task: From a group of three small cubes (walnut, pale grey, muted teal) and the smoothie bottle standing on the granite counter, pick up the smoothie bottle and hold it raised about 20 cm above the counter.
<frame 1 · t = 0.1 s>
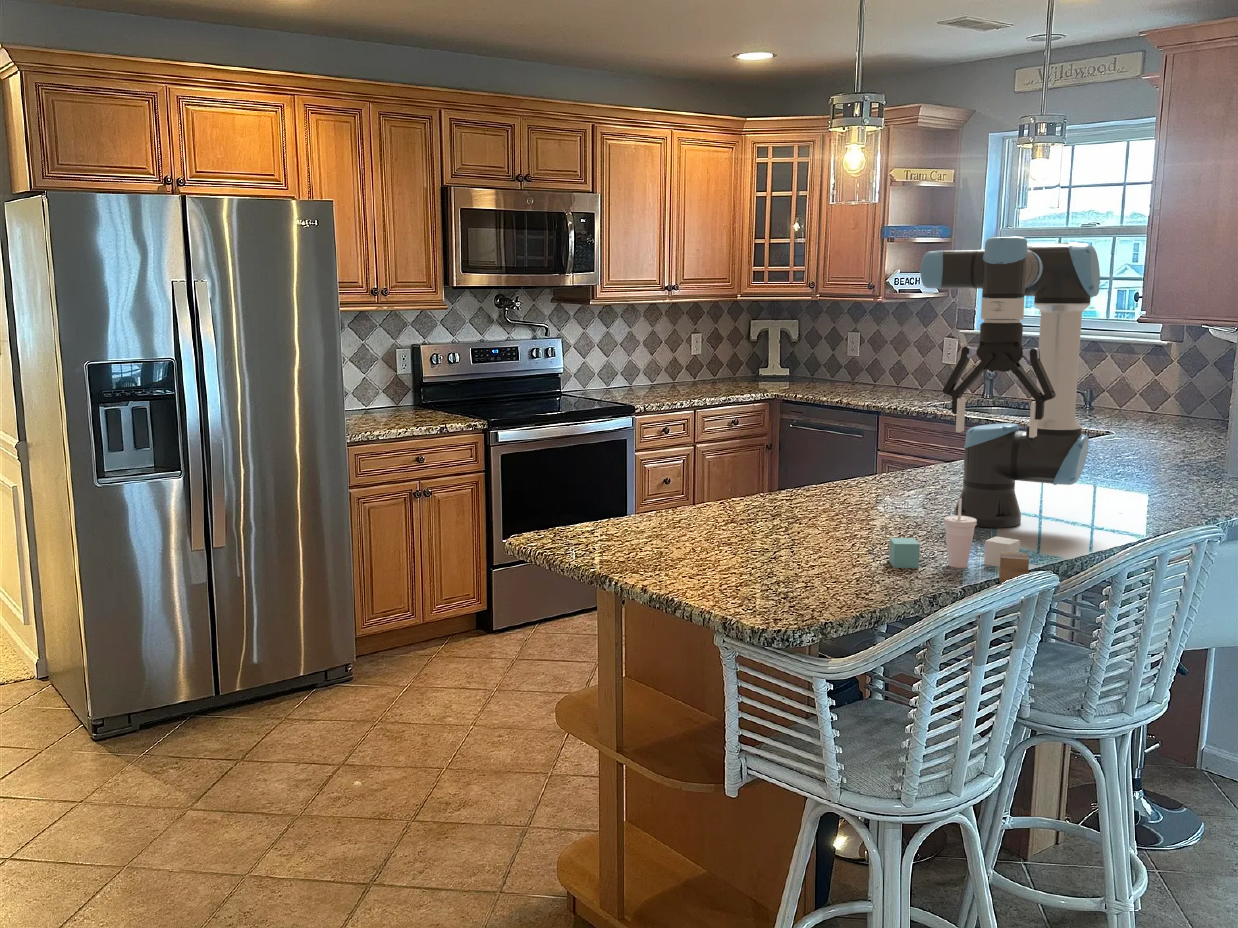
hand: (995, 434, 204), 28 cm above the counter, fingers open, 13 cm apart
smoothie: (957, 566, 217), on the counter
cube teal: (903, 564, 218), on the counter
cube walnut: (1013, 580, 206), on the counter
cube grey: (1001, 564, 218), on the counter
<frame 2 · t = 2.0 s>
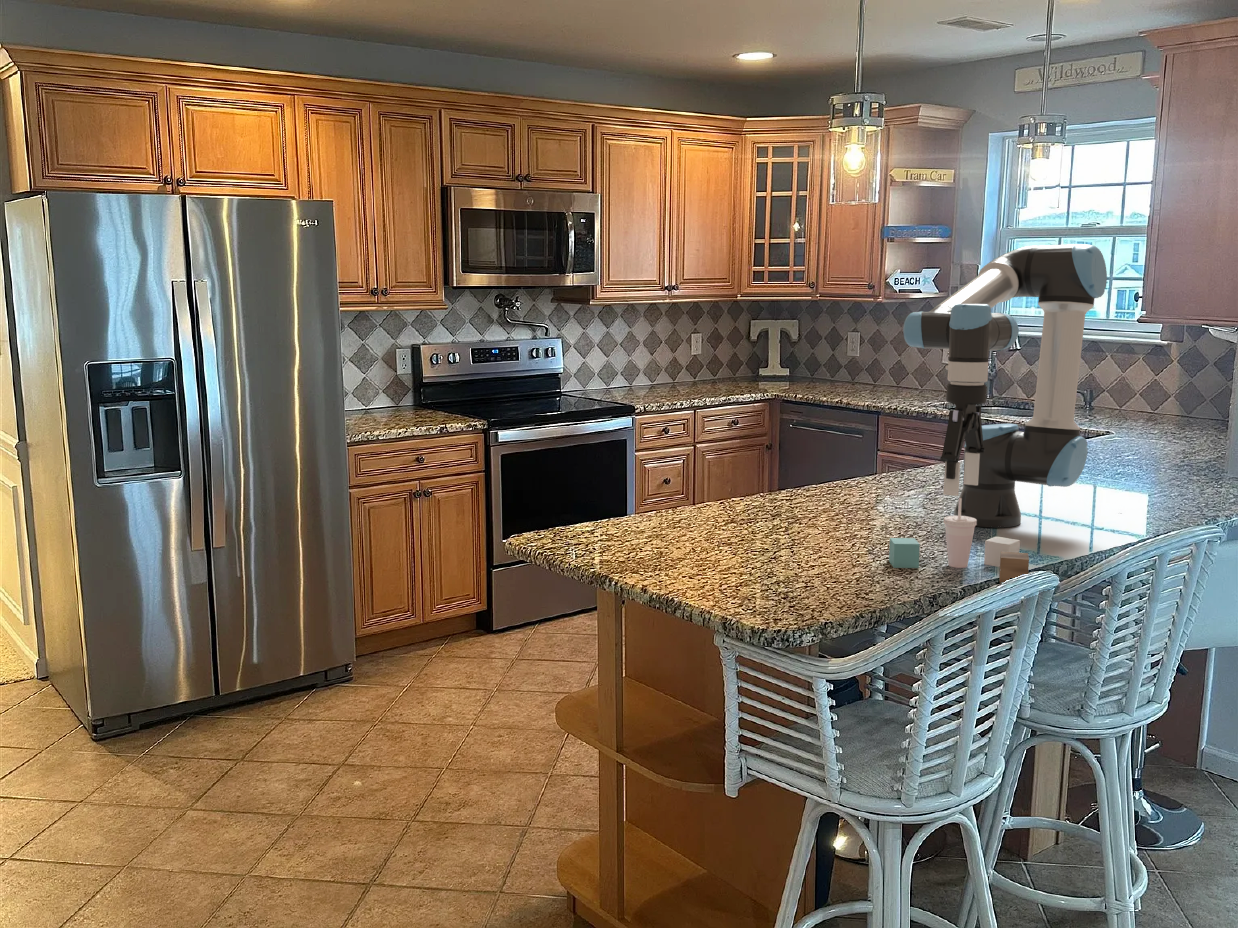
hand: (961, 489, 214), 16 cm above the counter, fingers open, 13 cm apart
nothing on the counter moved.
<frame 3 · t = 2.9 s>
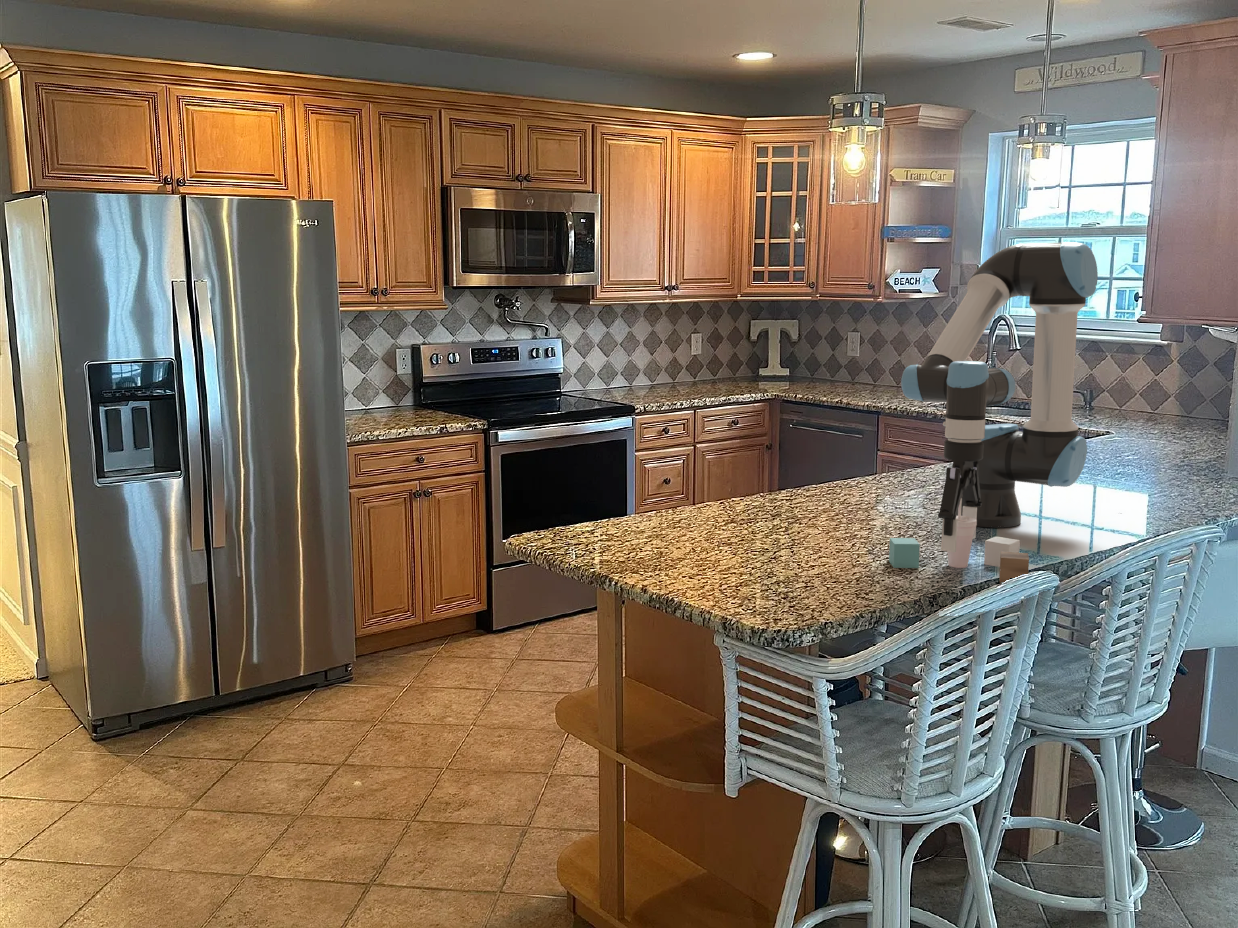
hand: (958, 544, 216), 4 cm above the counter, fingers open, 13 cm apart
nothing on the counter moved.
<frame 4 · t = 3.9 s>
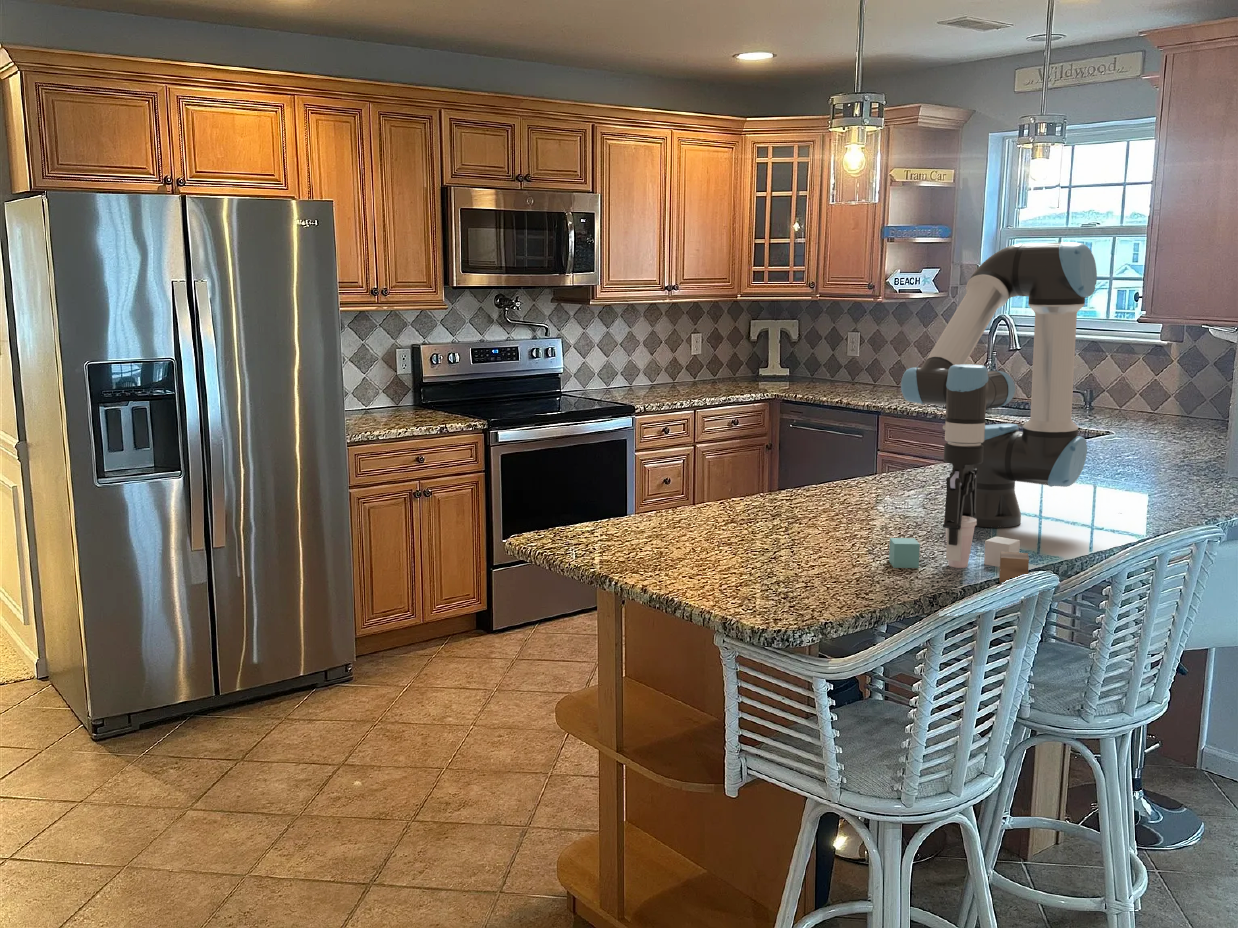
hand: (958, 556, 216), 2 cm above the counter, fingers closed on smoothie, 6 cm apart
smoothie: (958, 566, 217), on the counter, touching gripper
everything else where it was.
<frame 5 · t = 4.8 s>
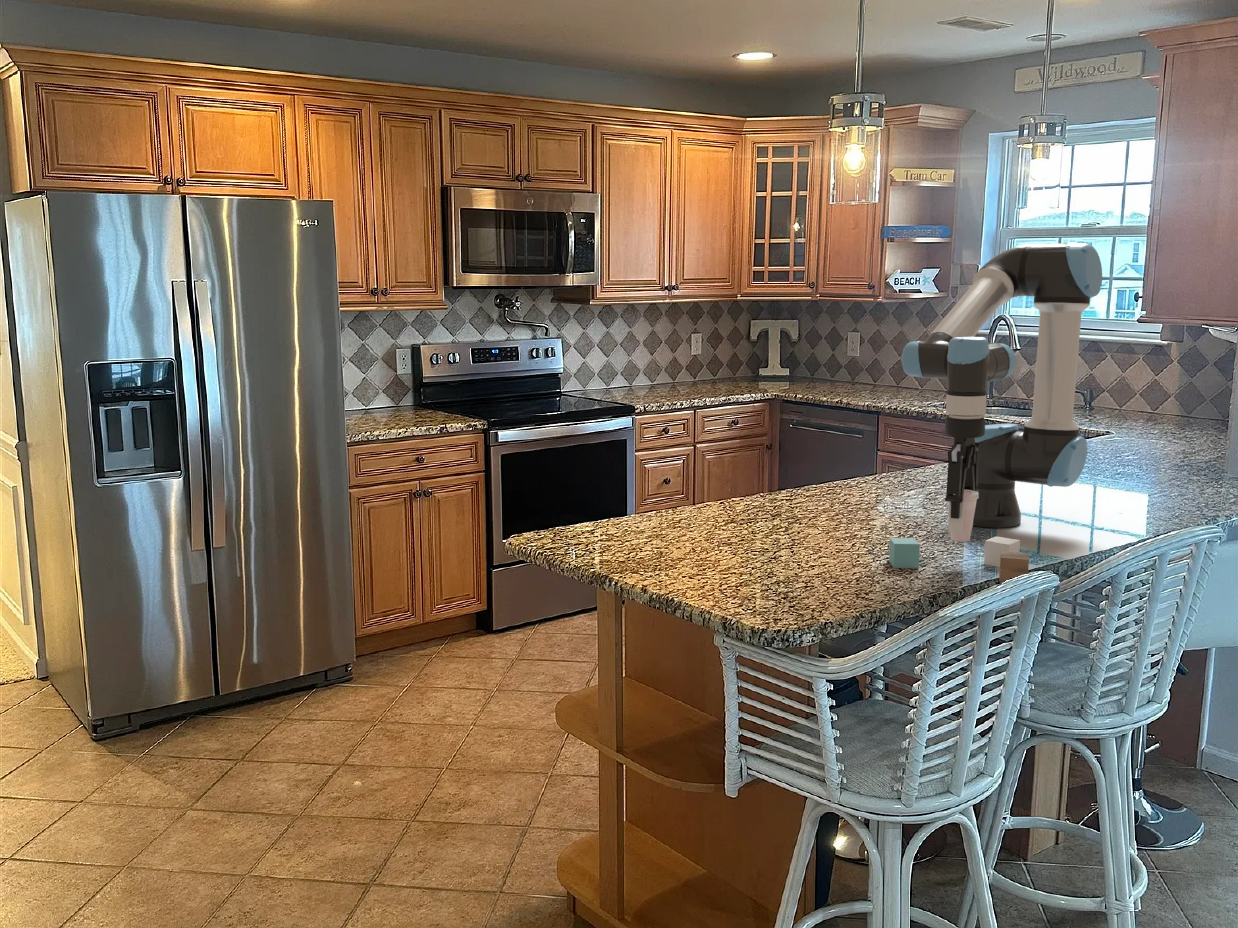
hand: (960, 529, 216), 7 cm above the counter, fingers closed on smoothie, 6 cm apart
smoothie: (960, 540, 216), point 5 cm above the counter, touching gripper
everything else where it was.
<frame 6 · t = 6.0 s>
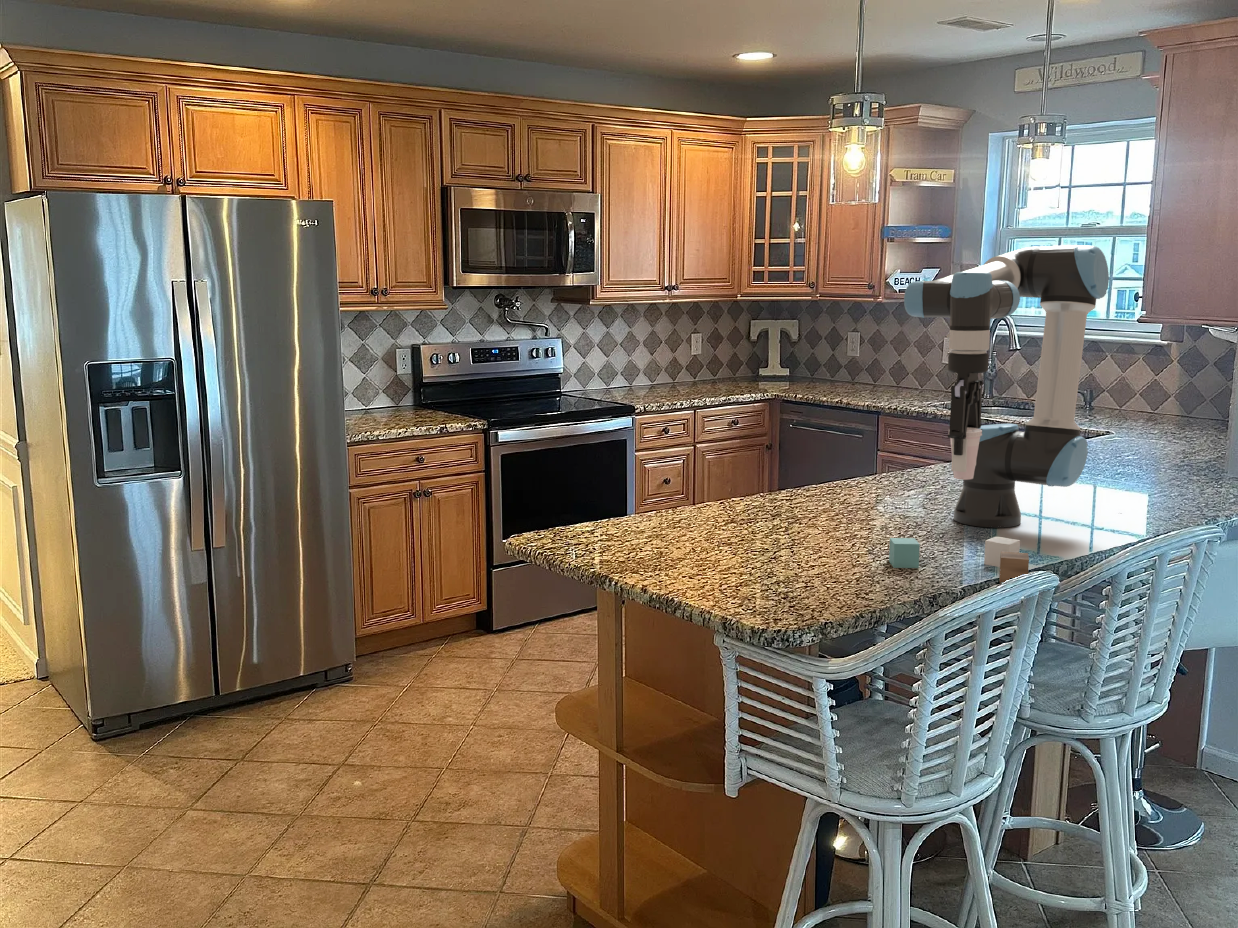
hand: (963, 467, 213), 20 cm above the counter, fingers closed on smoothie, 6 cm apart
smoothie: (963, 478, 214), point 18 cm above the counter, touching gripper
everything else where it was.
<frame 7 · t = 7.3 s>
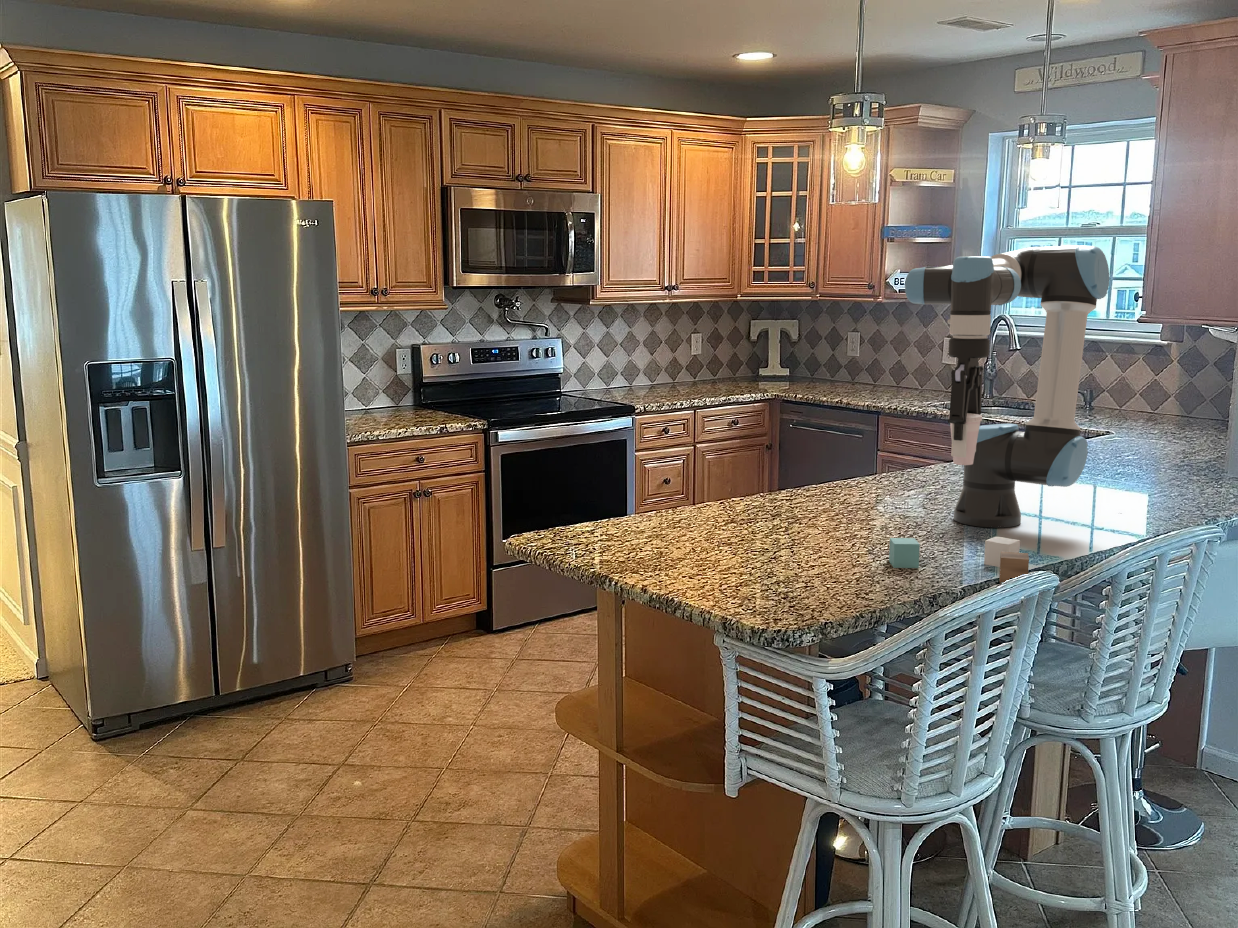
hand: (963, 453, 213), 23 cm above the counter, fingers closed on smoothie, 6 cm apart
smoothie: (963, 464, 213), point 21 cm above the counter, touching gripper
everything else where it was.
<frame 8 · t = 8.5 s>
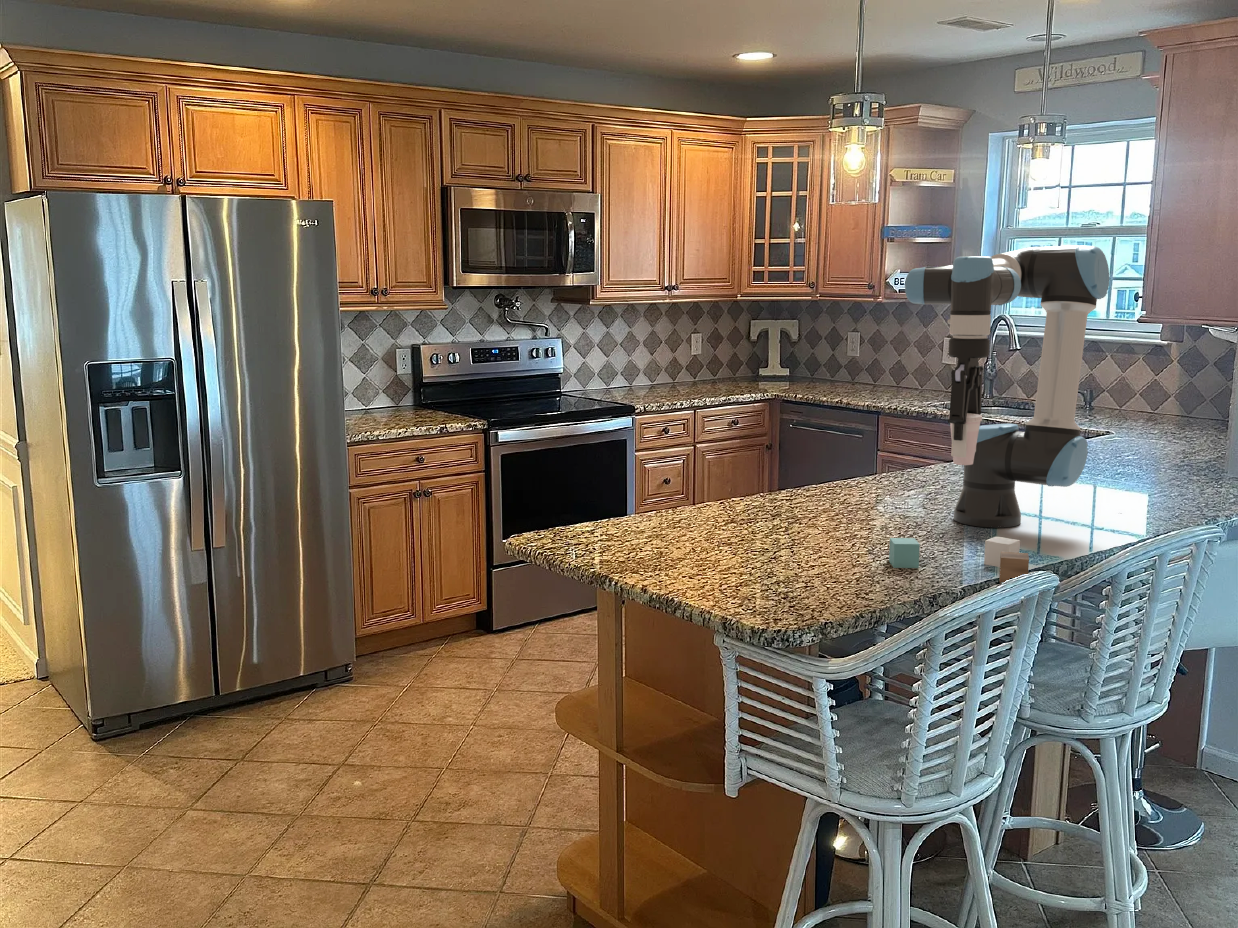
hand: (963, 453, 213), 23 cm above the counter, fingers closed on smoothie, 6 cm apart
smoothie: (963, 464, 213), point 21 cm above the counter, touching gripper
everything else where it was.
at the end: the gripper is holding smoothie; smoothie point 20.7 cm above the counter; cube grey moved 0.1 cm from its start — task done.
